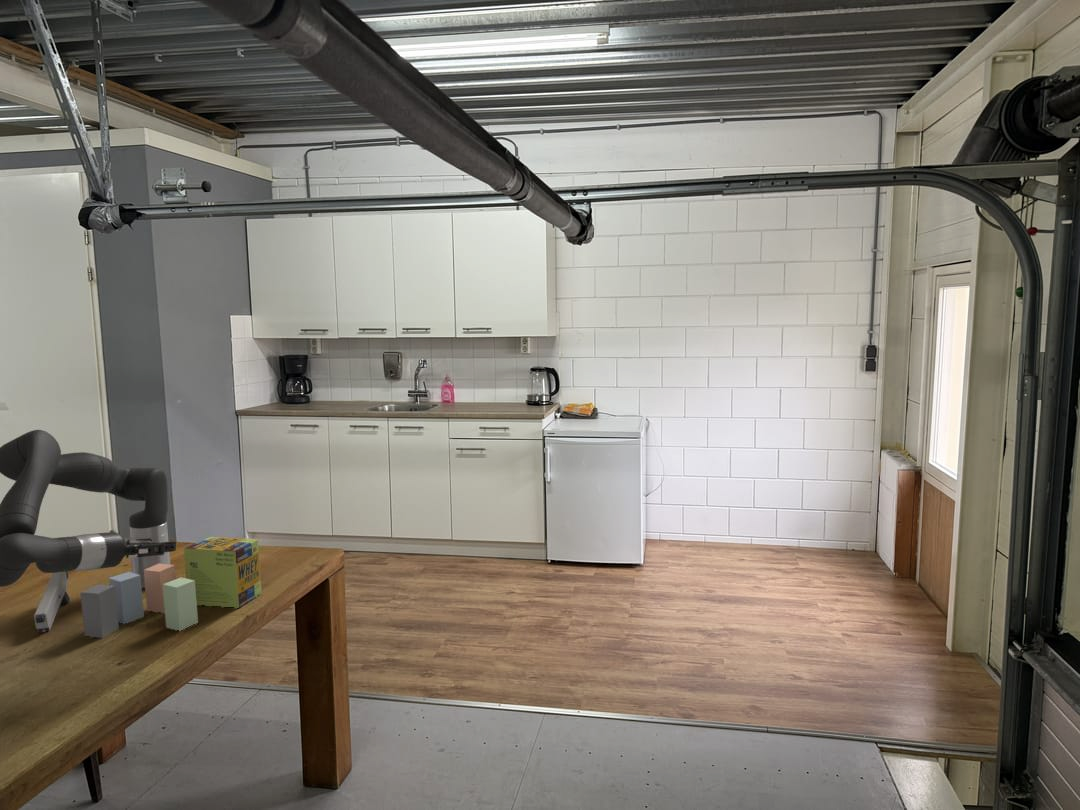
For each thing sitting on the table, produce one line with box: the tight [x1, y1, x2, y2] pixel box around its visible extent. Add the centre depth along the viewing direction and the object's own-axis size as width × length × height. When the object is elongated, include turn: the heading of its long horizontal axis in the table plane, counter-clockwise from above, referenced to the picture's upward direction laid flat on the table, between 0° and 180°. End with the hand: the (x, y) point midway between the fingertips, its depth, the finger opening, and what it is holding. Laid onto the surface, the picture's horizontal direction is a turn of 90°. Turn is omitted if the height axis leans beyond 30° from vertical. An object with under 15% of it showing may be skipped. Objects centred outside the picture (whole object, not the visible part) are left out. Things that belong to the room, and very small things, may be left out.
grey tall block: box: [79, 584, 120, 639], centre depth 171 cm, size 5×5×11 cm
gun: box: [33, 571, 71, 633], centre depth 182 cm, size 2×25×10 cm, turn 21°
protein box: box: [183, 536, 262, 609], centre depth 190 cm, size 10×15×16 cm
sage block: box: [163, 577, 199, 632], centre depth 174 cm, size 5×5×11 cm
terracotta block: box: [144, 563, 177, 614], centre depth 185 cm, size 5×5×11 cm
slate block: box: [108, 571, 145, 625], centre depth 179 cm, size 5×5×11 cm
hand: (162, 544), depth 167 cm, fingers open, 8 cm apart
